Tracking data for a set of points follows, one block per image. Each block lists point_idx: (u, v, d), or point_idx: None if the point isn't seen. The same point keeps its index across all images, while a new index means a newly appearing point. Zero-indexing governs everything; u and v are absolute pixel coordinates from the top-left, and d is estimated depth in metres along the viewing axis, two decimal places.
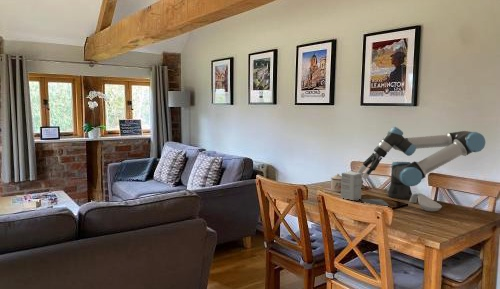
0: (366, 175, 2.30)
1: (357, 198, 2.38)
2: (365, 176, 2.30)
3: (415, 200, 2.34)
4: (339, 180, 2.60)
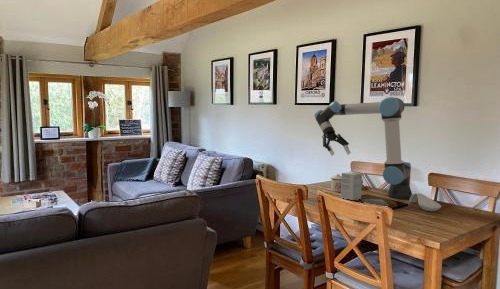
0: (331, 151, 2.46)
1: (357, 198, 2.38)
2: (331, 152, 2.45)
3: (415, 200, 2.34)
4: (339, 180, 2.60)
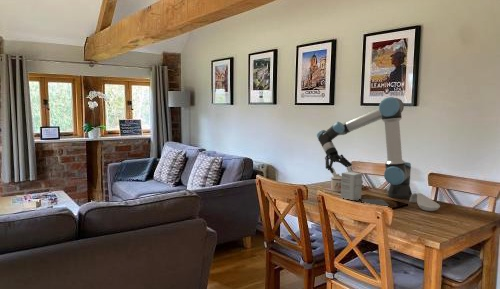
0: (334, 173, 2.43)
1: (357, 198, 2.38)
2: (334, 174, 2.43)
3: (415, 200, 2.34)
4: (339, 180, 2.60)
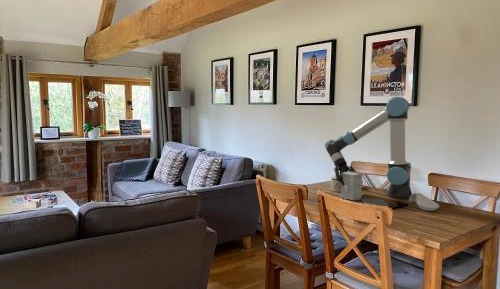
0: (345, 186, 2.36)
1: (357, 198, 2.38)
2: (346, 187, 2.36)
3: (414, 200, 2.35)
4: None
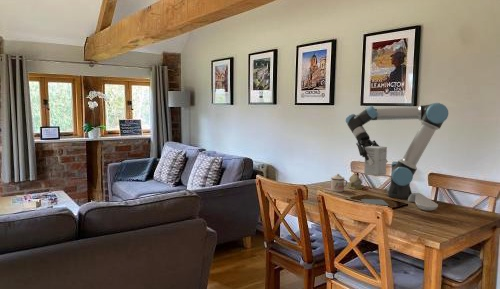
0: (369, 160, 2.23)
1: (382, 173, 2.25)
2: (370, 162, 2.23)
3: (414, 199, 2.35)
4: (339, 180, 2.60)
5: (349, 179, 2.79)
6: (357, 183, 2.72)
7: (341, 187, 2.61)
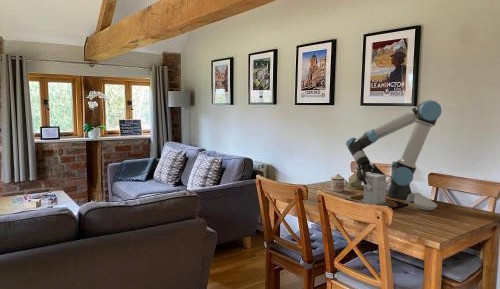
0: (367, 185, 2.24)
1: (381, 201, 2.26)
2: (368, 186, 2.24)
3: (412, 199, 2.36)
4: (339, 180, 2.60)
5: (348, 179, 2.78)
6: (357, 183, 2.72)
7: (341, 187, 2.61)
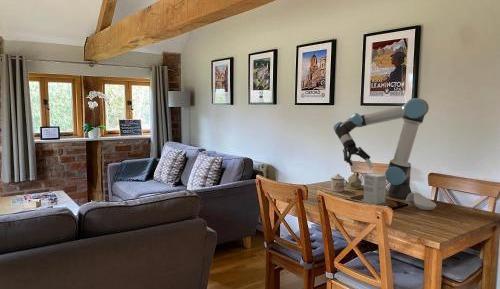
0: (353, 166, 2.35)
1: (381, 201, 2.26)
2: (353, 167, 2.35)
3: (412, 199, 2.36)
4: (339, 180, 2.60)
5: (348, 179, 2.78)
6: (357, 183, 2.72)
7: (341, 187, 2.61)
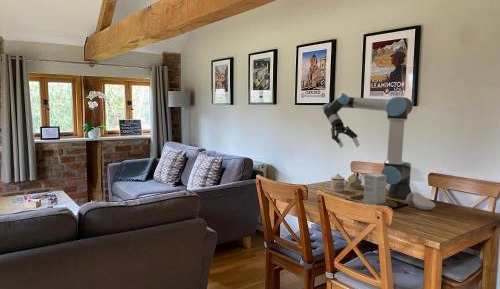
0: (340, 143, 2.45)
1: (381, 201, 2.26)
2: (340, 144, 2.44)
3: (412, 199, 2.37)
4: (339, 180, 2.60)
5: (348, 179, 2.77)
6: (356, 183, 2.71)
7: (341, 187, 2.61)
